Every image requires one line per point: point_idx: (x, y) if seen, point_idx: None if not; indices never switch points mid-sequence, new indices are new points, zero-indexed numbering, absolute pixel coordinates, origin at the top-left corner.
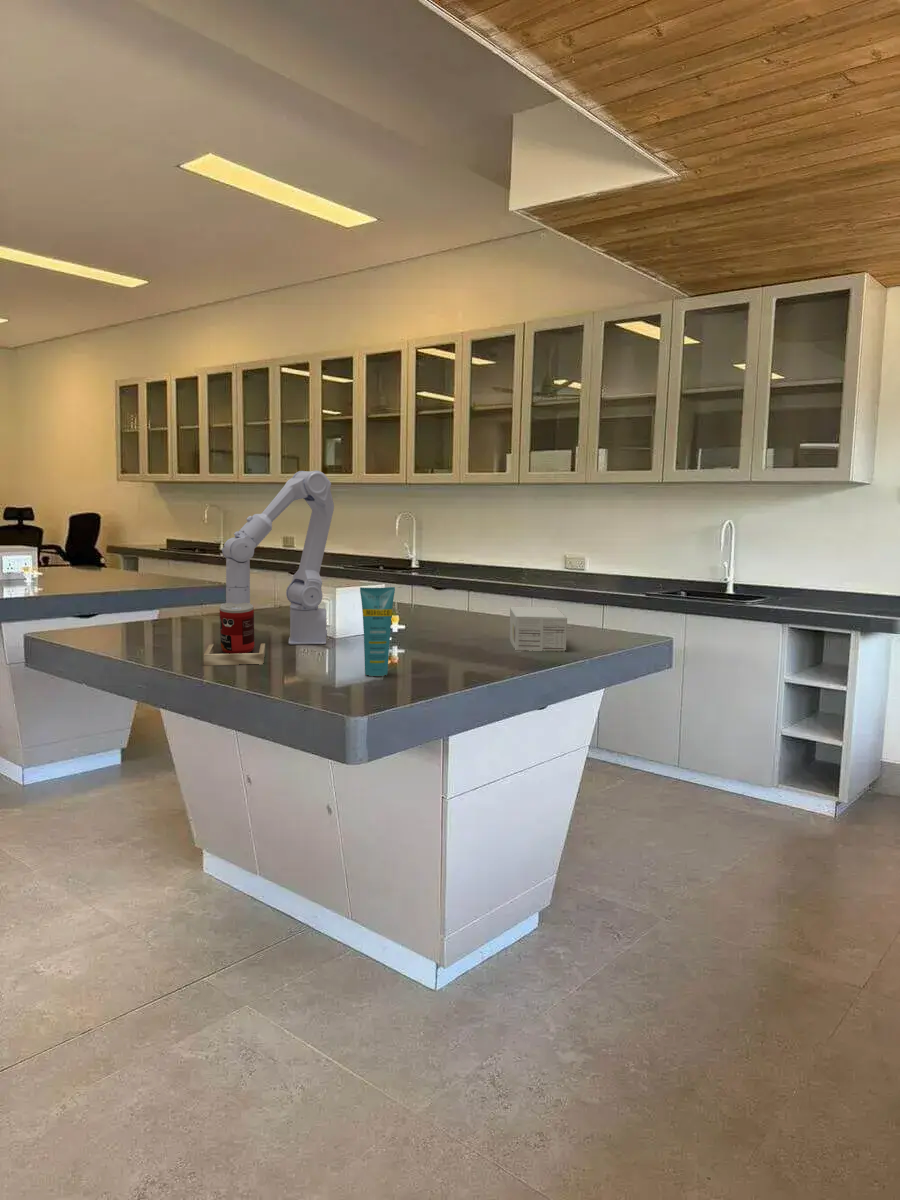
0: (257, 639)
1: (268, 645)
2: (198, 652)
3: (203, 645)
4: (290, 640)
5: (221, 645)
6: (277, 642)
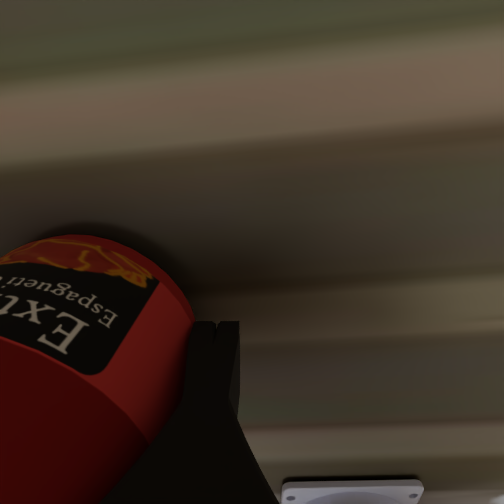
0: (487, 376)
1: (292, 422)
2: (21, 32)
3: (371, 43)
4: (341, 492)
5: (8, 255)
6: (365, 446)
